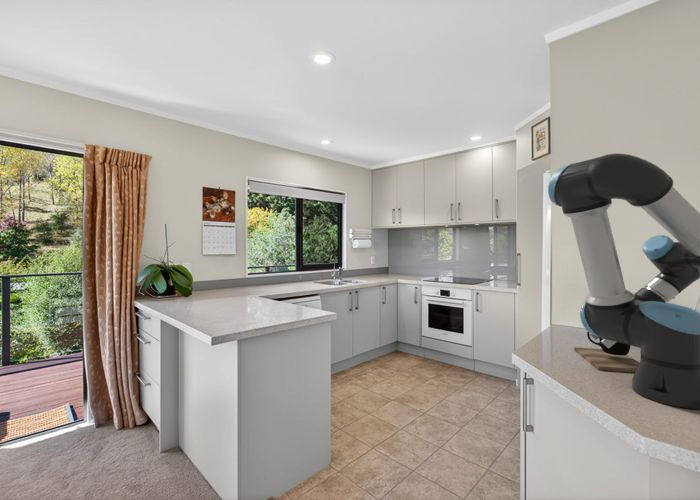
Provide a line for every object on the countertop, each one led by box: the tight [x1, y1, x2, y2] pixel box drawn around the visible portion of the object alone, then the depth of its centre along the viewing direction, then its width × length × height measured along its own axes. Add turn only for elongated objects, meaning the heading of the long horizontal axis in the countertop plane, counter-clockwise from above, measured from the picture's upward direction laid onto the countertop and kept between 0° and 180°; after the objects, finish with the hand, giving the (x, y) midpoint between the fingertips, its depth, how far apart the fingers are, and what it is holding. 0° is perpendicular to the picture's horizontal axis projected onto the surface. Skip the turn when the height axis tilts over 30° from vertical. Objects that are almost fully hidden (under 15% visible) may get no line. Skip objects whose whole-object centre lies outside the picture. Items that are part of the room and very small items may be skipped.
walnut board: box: [573, 346, 640, 374], centre depth 112 cm, size 20×14×1 cm
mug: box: [586, 331, 632, 355], centre depth 112 cm, size 12×9×10 cm
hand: (598, 340), depth 113 cm, fingers closed on mug, 9 cm apart
